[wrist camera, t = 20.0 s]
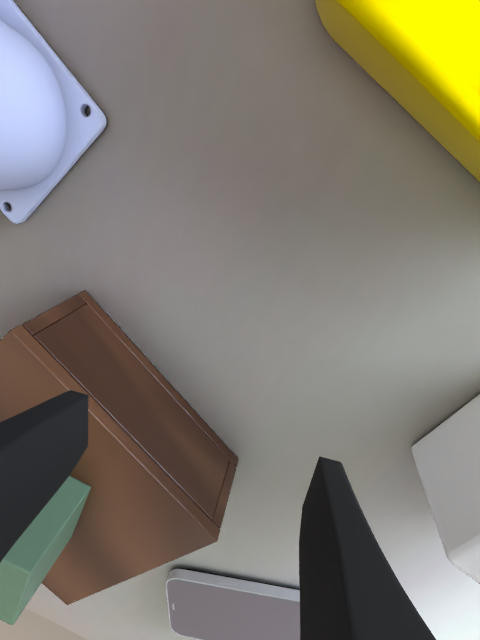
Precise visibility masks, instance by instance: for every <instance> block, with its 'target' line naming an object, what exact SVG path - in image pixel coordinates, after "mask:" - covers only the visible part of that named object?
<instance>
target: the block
mask: <svg viewBox="0 0 480 640" xmlns="http://www.w3.org/2000/svg"><path fill="white" fill-rule="evenodd" d="M90 489H91V487H90V486H89V485H87V484H85V483H83V482H81V481H79V480H77V479H75V478H73V477H71V476H69V477H68V478H67V479H66V481H65V482H64V483H63V484H62V486H61V487H60V488H59V489H58V491H57V492H56V493H55V494H54V496H53V497H52V498H51V499H50V501H49V502H48V503H47V504H46V506H45V507H44V508H43V509H42V510H41V512H40V513H39V514H38V515H37V517H36V518H35V519H34V520H33V521H32V523H31V524H30V525H29V526H28V528H27V529H26V530H25V531H24V533H23V534H22V535H21V536H20V537H19V539H18V540H17V541H16V542H15V544H14V545H13V546H12V548H11V549H10V550H9V552H8V553H7V554H6V556H5V557H4V558H3V560H2V561H1V563H0V620H2V621H4V622H6V623H8V624H10V625H13V624H14V623H15V622H16V620H17V619H18V617H19V616H20V614H21V613H22V611H23V610H24V608H25V607H26V605H27V604H28V602H29V601H30V599H31V598H32V596H33V594H34V593H35V591H36V590H37V588H38V587H39V585H40V584H41V582H42V581H43V579H44V578H45V576H46V575H47V573H48V572H49V570H50V569H51V567H52V566H53V564H54V563H55V561H56V560H57V558H58V557H59V555H60V554H61V552H62V551H63V549H64V548H65V546H66V545H67V543H68V541H69V540H70V538H71V537H72V534H73V532H74V529H75V527H76V524H77V522H78V519H79V517H80V514H81V512H82V509H83V507H84V504H85V502H86V499H87V497H88V494H89V492H90Z"/></svg>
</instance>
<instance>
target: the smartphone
mask: <svg viewBox="0 0 480 640" xmlns="http://www.w3.org/2000/svg"><path fill="white" fill-rule="evenodd" d="M165 586H166V595H167V604H168V613H169V622H170V627H171V629H172V630H173V631H174V632H175V633H177V634H179V635H181V636H185V637H190V638H194V639H199V640H300V590H295V589H290V588H284V587H279V586H273V585H267V584H262V583H256V582H251V581H245V580H240V579H234V578H229V577H223V576H217V575H212V574H206V573H201V572H195V571H190V570H184V569H174V570H172V571H170V573H169V575H168V578H167V581H166V585H165Z"/></svg>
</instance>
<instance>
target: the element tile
mask: <svg viewBox="0 0 480 640" xmlns="http://www.w3.org/2000/svg"><path fill="white" fill-rule="evenodd" d="M315 5H316V8H317V11H318V13H319V16H320V18H321V21H322V24H323V26H324V27H325V29H326V30H327V32H328V33H329V34H330V36H331V37H332V39H333V40H334V41H335V42H336V43H337V44H339V45H340V46H341V47H342V48H343V49H344V50H345V51H346V52H347V53H348V54H349V55H350V56H351V57H352V58H353V59H354V60H355V61H356V62H357V63H358V64H359V65H360V66H361V67H362V68H363V69H364V70H365V71H366V72H367V73H368V74H369V75H370V76H371V77H372V78H373V79H374V80H375V81H376V82H378V83H379V84H380V85H381V86H382V87H383V88H384V89H385V90H386V91H387V92H388V93H389V94H390V95H391V96H392V97H393V98H394V99H395V100H396V101H397V102H398V103H399V104H400V105H401V106H402V107H403V108H404V109H405V110H406V111H407V112H408V113H409V114H410V115H411V116H412V117H413V118H414V119H415V120H417V121H418V122H419V123H420V124H421V125H422V126H423V127H424V128H425V129H426V130H427V131H428V132H429V133H430V134H431V135H432V136H433V137H434V138H435V139H436V140H437V141H438V142H439V143H440V144H441V145H442V146H443V147H444V148H445V149H446V150H447V151H448V152H449V153H450V154H451V155H452V156H453V157H455V158H456V159H457V160H458V161H459V162H460V163H461V164H462V165H463V166H464V167H465V168H466V169H467V170H468V171H469V172H470V173H471V174H472V175H473V176H474V177H475V178H476V179H477V180H478V181H479V182H480V0H315Z"/></svg>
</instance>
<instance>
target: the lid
mask: <svg viewBox="0 0 480 640" xmlns="http://www.w3.org/2000/svg"><path fill="white" fill-rule="evenodd" d="M69 390H72V391H76V392H80V393H84V394H87V395H89V394H88V393H87V392H86V391H85V390H84V389H83V388H82V387H81V386H80V385H79V384H78V383H77V382H76V381H75V380H74V379H73V378H72V377H71V376H70V374H69V373H68V372H67V371H66V370H65V369H64V368H63V367H62V366H61V365H60V364H59V363H58V362H57V361H56V360H55V359H54V358H53V357H52V356H51V355H50V354H49V353H48V352H47V351H46V350H45V349H44V348H43V347H42V346H41V345H40V344H39V343H38V341H37V340H36V339H35V338H34V337H33V336H32V335H31V334H30V333H29V332H28V331H27V330H26V329H25V328H24V327H23V326H22V325H19V326H17V327H16V328H14V329H12V330H10V331H9V332H8V333H7V334H6V335H5V336H4V337H3V338H2V339H1V340H0V422H2V421H4V420H6V419H9V418H11V417H13V416H15V415H17V414H19V413H22V412H24V411H26V410H28V409H30V408H32V407H34V406H36V405H39V404H41V403H43V402H45V401H47V400H49V399H51V398H53V397H56V396H58V395H60V394H62V393H64V392H67V391H69ZM70 476H71V477H73V478H75V479H77V480H79V481H81V482H83V483H85V484H87V485H89V486H90V487H91V489H90V492H89V494H88V497H87V499H86V502H85V504H84V507H83V509H82V512H81V514H80V517H79V519H78V522H77V524H76V527H75V529H74V532H73V534H72V537H71V538H70V540H69V541H68V543H67V545H66V546H65V548H64V549H63V551H62V552H61V554H60V555H59V557H58V558H57V560H56V561H55V563H54V564H53V566H52V567H51V569H50V570H49V572H48V573H47V575H46V576H45V578H44V579H43V581H42V582H41V583H42V584H43V585H45V586H46V587H47V588H48V589H49V590H50V591H52V592H53V593H54V594H55V595H56V596H57V597H58V598H60V599H61V600H62V601H63V602H64V603H65V604H66V605H69V604H71V603H73V602H76V601H78V600H80V599H83V598H85V597H87V596H90V595H92V594H95V593H97V592H99V591H102V590H104V589H106V588H109V587H111V586H113V585H116V584H118V583H120V582H123V581H125V580H128V579H130V578H132V577H135V576H137V575H139V574H142V573H144V572H146V571H149V570H151V569H153V568H156V567H158V566H160V565H163V564H165V563H168V562H170V561H172V560H175V559H177V558H179V557H182V556H184V555H186V554H189V553H191V552H193V551H196V550H198V549H201V548H203V547H205V546H208V545H210V544H212V543H215V542H217V540H218V537H219V533H220V529H219V528H218V527H217V526H216V525H215V524H214V523H213V522H212V521H211V520H210V519H209V518H208V517H207V516H206V515H205V514H204V513H203V512H202V511H201V510H200V509H199V507H198V506H197V505H196V504H195V503H194V502H193V501H192V500H191V499H190V498H189V497H188V496H187V495H186V494H185V493H184V492H183V491H182V490H181V489H180V488H179V487H178V486H177V485H176V484H175V483H174V482H173V481H172V480H171V479H170V478H169V477H168V476H167V474H166V473H165V472H164V471H163V470H162V469H161V468H160V467H159V466H158V465H157V464H156V463H155V462H154V461H153V460H152V459H151V458H150V457H149V456H148V455H147V454H146V453H145V452H144V451H143V450H142V449H141V448H140V447H139V446H138V445H137V444H136V443H135V441H134V440H133V439H132V438H131V437H130V436H129V435H128V434H127V433H126V432H125V431H124V430H123V429H122V428H121V427H120V426H119V425H118V424H117V423H116V422H115V421H114V420H113V419H112V418H111V417H110V416H109V415H108V414H107V413H106V412H105V411H104V410H103V408H102V407H101V406H100V405H99V404H98V403H97V402H96V401H95V400H94V399H93V398H92V397H91V396H90V395H89V402H88V447H87V448H86V450H85V452H84V453H83V455H82V457H81V458H80V460H79V462H78V463H77V465H76V466H75V468H74V469H73V471H72V472H71V474H70Z"/></svg>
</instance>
